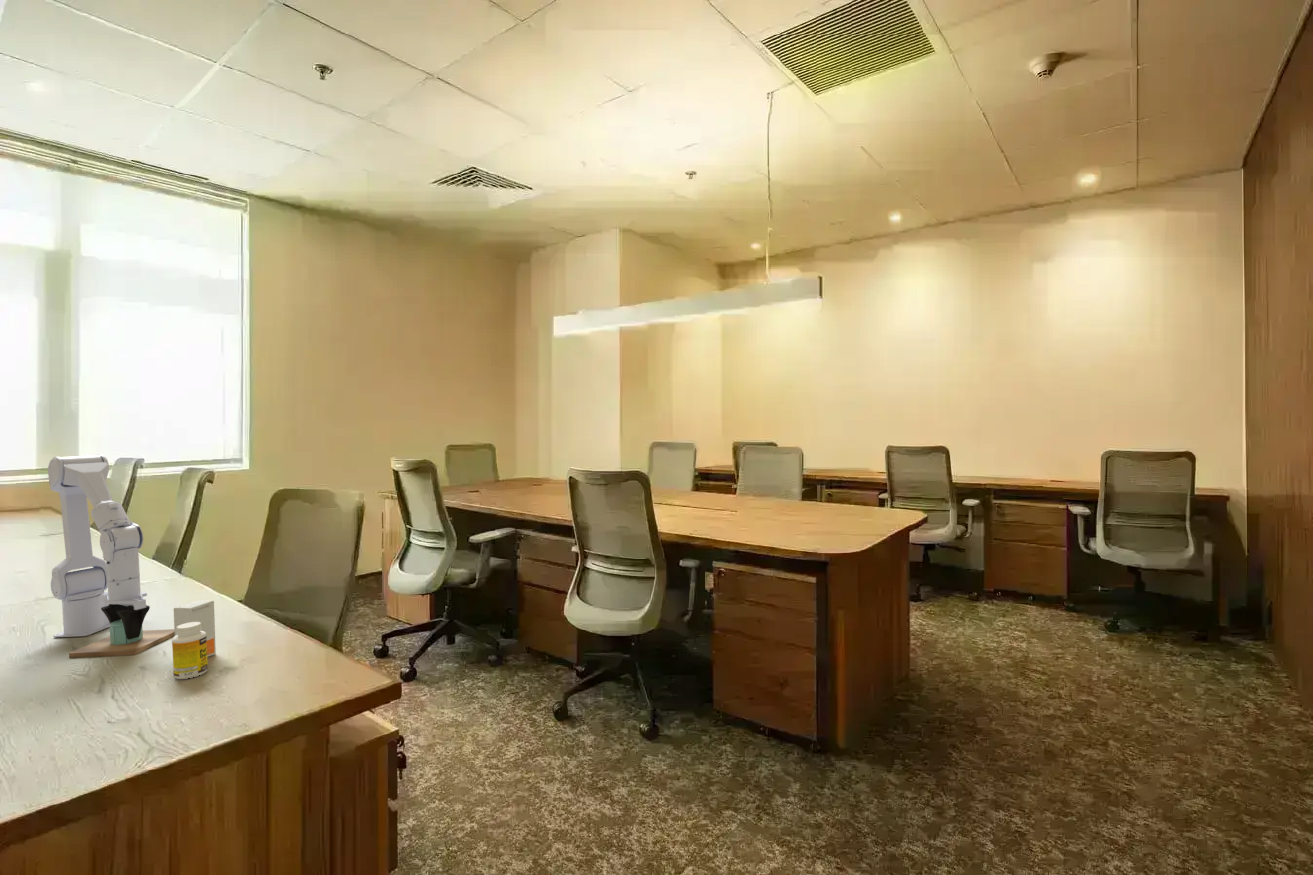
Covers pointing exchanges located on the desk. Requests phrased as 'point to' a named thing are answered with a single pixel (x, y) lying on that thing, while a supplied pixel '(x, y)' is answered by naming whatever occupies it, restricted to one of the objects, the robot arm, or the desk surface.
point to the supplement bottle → (189, 651)
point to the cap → (121, 634)
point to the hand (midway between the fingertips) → (127, 636)
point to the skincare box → (198, 620)
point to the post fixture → (123, 645)
